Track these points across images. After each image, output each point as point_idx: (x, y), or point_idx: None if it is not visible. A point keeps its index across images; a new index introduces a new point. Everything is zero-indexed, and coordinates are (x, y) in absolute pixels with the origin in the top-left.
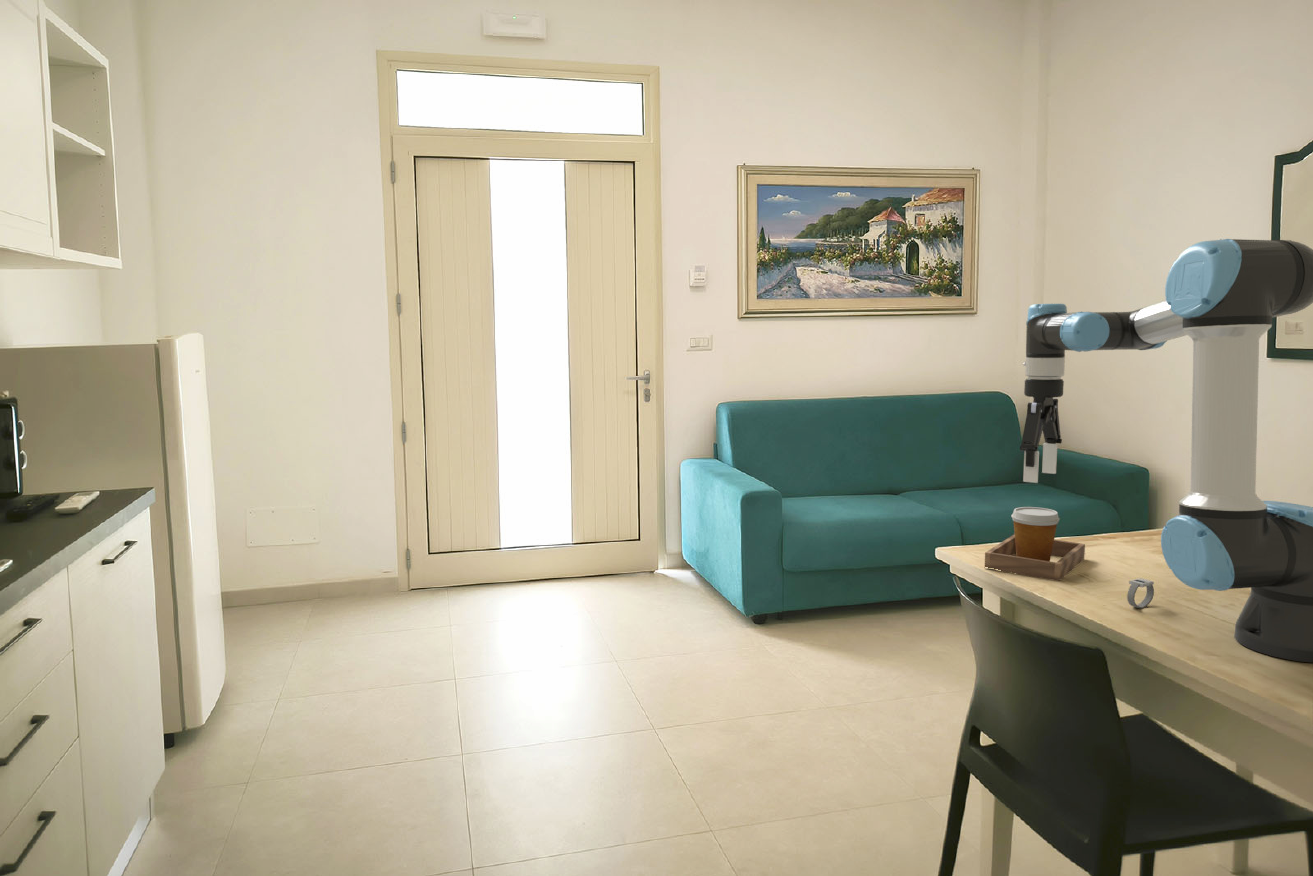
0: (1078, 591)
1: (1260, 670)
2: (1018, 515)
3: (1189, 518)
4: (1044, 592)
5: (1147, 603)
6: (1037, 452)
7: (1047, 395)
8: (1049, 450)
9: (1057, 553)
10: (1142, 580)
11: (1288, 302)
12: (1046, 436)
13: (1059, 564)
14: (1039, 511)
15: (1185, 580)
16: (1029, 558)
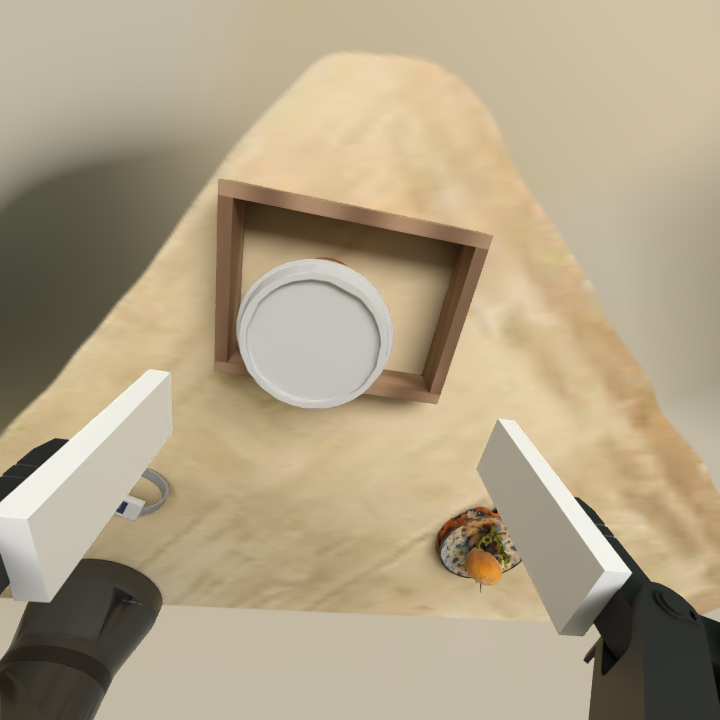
0: (176, 389)
1: None
2: (255, 292)
3: None
4: (123, 335)
5: (156, 484)
6: (22, 588)
7: None
8: (550, 552)
9: (435, 338)
10: (127, 509)
11: None
12: (628, 664)
13: (214, 369)
14: (344, 353)
15: None
16: (226, 304)
